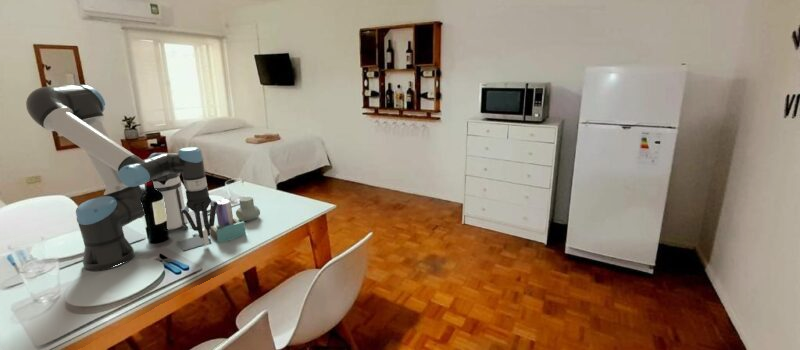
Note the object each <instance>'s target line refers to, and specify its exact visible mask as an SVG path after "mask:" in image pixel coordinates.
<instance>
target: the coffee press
mask: <svg viewBox="0 0 800 350" xmlns="http://www.w3.org/2000/svg"><path fill="white" fill-rule="evenodd" d="M180 176H181V173H169V174H166V175H164V176H161V177H159V178H156V179H154V180H153V183H154V187H155V189H157V190H158V191H160V192H161V193H162V194H163V197H164V202H165V208H166V214H167V229H168V230H167V231H170V230H176V229H179V228H181V229H182V230H183V231H186V230H188V229H189V226H188V225H187V222H188V219H187V217H186V215H185V214H184V213H183V212H182V211H181V208H184V207H185V206H186V204H185V199H184V194H183V189H182V181H181V178H180Z"/></svg>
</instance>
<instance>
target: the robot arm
mask: <svg viewBox="0 0 800 350" xmlns="http://www.w3.org/2000/svg"><path fill="white" fill-rule="evenodd" d="M25 105H26V106H25V107H26V111H27V112H28V114H29V116H30V118H32V120H33V121H34V122H36V124H38V125H39V126H41V128H43V129H45V130H47V131H49V132H55V133H58V134H59V135H60V136H62V137H64V138H65V139H66V140H68V141H70V142H72V143H73V144H75V145H76V146H78V147H79V148H80V149H82V150H84V151H85V152H86V154H87V157H88V158H89V160H90V162H91V164H92V165H93V167H94V169H95V171H96V173H97V175H98V176H99V178H100V180H101V182H102V184H103V185H104V188H105V190H104V193H103V196H99V197H97V196H96V198H91V199H88V200H86V201H84V202H81V204H78V206H77V207H76V209H75V214H76V222H77V224H78V228H79V231H80V233H81V237H82V240H83V244H84V252H83V258H82V264H83V268H84V270H87V271H92V272H97V271H106V270H109V269H108V268H110V269H112V268H111V267H113V266H115V265H118V264H120V263H123V262H126V261H128V262H130V261H131V260H132V259H133V258H134V257H135V251H134V250H135V249H134V247H133V245H132V244H131V243H130V242H129V241H128V239H127V238H126V237H125V234H124V230H123V229H124V228H123V227H125V226H127V225H129V224H131V223H132V222H134V221H136V220H138V219H142V218H143V217H145V215H144V211H143V207H142V204H141V202H140V197H141V195H142V194H143V193H144V192H145V188H146V187H144V186H142V185H145V184H147V182H149V181H151V180H154V179H156V178H159V177H161V176H164V175H166V174H169V173H180V174H181V176H182V179H183V184H184V189H185V195H186V204H185V207H184V208H181V211H182V212H183V213H184V214H185V215H186V217H187V222H188V223H189V225H190V227H191V229H192V230H193V231H194V232H196V231H198V236H199V237H200V238H202V239H203V244H204V245H203V246H205V247H206V246H209V245H210V244H209V241H210V240H209V237H210V236H211V233H210V227H211V226H214V227H215V220H216V207H217V205H218V203H217V202H216V201H217V200H212V199H211V198H210V194H209V188H208V183H207V177H206V173H205V172H206V171H205V164H204V157H203V155H202V150H201V149H200V148H199V147H196V146H195V147H194V146H192V147H191V146H190V147H183V148H180V149H179V150H178V152H174V153H173V152H161V151H160V152H153V153H151V154H150V155H149V156H148V157H147V158H145V159H142V158H140V156H137V155H135V154H134V153H132V151H130V150H128V149H126V148H125V147H124V146H122V145H120V144H119V143H118V142H116V141H115V140H112V139H111V137H110V135H109V133H108V132H107V129H106V128H105V126H104V124H103V121H104V118H105V116H104V113H103V112H104V111H105V108H106V107H105V106H106V102H105V99H104V97H103V95H102V94H101V93H100V92H99V91H98V90H97V89H95V88H94V87H92V86H89V85H86V84H69V85H55V86H54V85H53V86H43V87H39V88H37V89H34V90H33V91H32V92H31V93H29V95H28V96H27V98H26V102H25ZM209 207H210V212H209V215H208V208H209ZM190 210H191V211H192V212H193V213H194V217H195V221H194V220H193V218H192V216H191V214H190ZM201 215H202V218H201ZM202 220H203V221H202ZM202 222H203V224H204V225H202ZM195 223H196V224H195ZM203 226H204V227H203ZM126 263H127V262H126ZM105 269H106V270H105Z"/></svg>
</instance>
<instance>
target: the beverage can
mask: <svg viewBox="0 0 800 350" xmlns="http://www.w3.org/2000/svg"><path fill="white" fill-rule="evenodd" d="M215 201H216V202H217V203H218V205H217V207H216V212H215V215H216V219H217V225H221V224H222V225H223V227H224V226H228V225H231V224H234V221H233V219H234V216H233V208H232V202H231V200H230V199H228V198H227V199H225V198H224V199H219V200H215Z"/></svg>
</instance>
